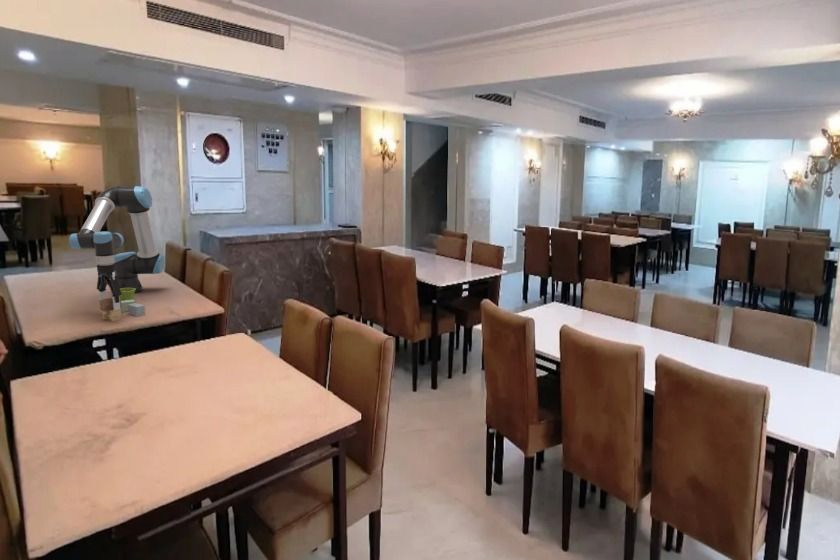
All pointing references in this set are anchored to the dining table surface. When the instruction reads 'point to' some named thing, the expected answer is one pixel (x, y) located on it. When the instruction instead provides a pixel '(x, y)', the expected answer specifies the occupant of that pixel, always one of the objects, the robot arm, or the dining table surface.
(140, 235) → the robot arm
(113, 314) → the oak brick
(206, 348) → the dining table surface
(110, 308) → the walnut brick
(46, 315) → the dining table surface
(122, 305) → the sage brick
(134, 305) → the grey brick
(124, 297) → the plant pot
